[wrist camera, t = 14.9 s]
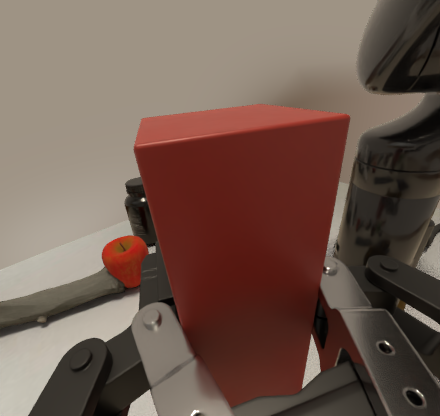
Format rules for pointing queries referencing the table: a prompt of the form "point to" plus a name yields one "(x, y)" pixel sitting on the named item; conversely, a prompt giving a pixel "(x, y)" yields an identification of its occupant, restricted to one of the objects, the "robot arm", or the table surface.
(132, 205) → the supplement bottle
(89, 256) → the table surface
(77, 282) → the bone
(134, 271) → the apple
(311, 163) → the red block
